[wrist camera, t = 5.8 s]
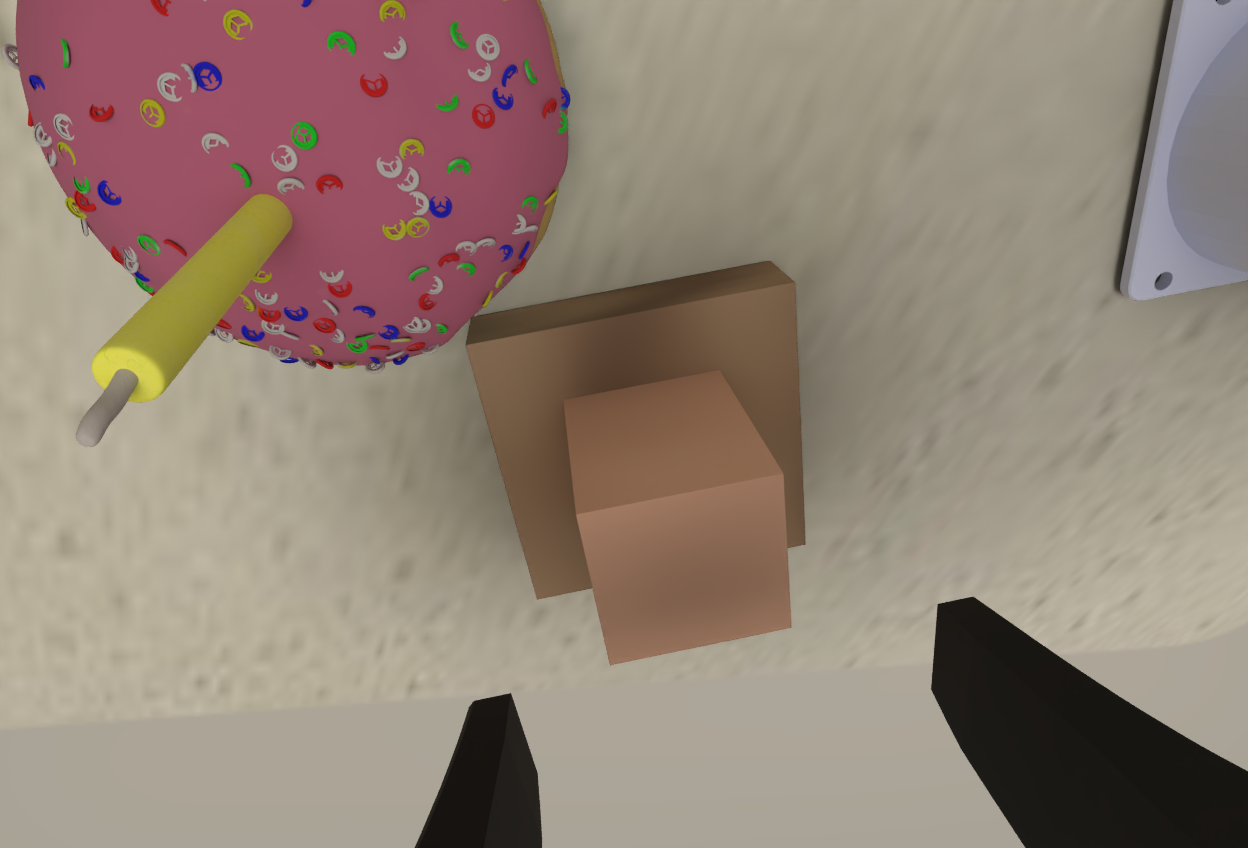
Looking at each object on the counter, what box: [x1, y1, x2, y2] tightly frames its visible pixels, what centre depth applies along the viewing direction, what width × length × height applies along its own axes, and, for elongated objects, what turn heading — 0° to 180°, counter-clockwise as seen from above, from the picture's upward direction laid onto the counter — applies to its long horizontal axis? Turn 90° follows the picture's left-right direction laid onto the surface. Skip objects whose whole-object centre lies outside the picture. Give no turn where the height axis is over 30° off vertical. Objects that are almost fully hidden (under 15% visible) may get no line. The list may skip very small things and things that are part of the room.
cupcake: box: [2, 0, 570, 447], centre depth 11 cm, size 9×8×12 cm
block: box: [563, 370, 791, 665], centre depth 17 cm, size 4×4×5 cm
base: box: [466, 261, 805, 599], centre depth 20 cm, size 8×8×2 cm
